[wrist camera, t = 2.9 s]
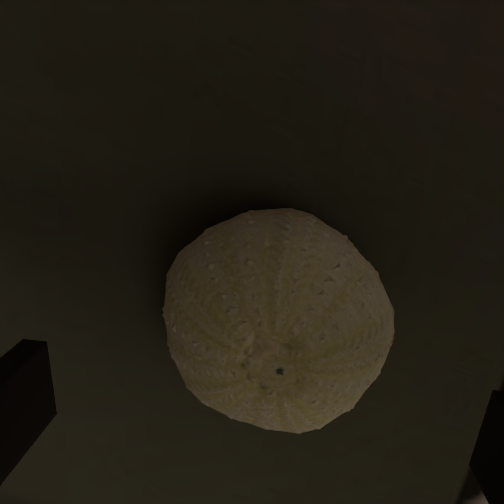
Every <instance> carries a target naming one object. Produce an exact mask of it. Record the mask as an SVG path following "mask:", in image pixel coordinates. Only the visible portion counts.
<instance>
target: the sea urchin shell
mask: <svg viewBox="0 0 504 504" xmlns="http://www.w3.org/2000/svg"><path fill="white" fill-rule="evenodd" d="M168 271H169V272H168V273H167V274H166V276H167V277H166V279H167V282H166V294H165V302H164V307H163V308H162V311H163V312H164V313H163V314H162V315H163V317H164V320H165V324H166V329H167V337H168V341H167V345H168V347H169V348H170V349H169V351H168V352H170V353H171V358H172V359H173V360H174V361H175V363H176V365H177V368H178V370H179V372H180V374H181V376H182V379H183V380H184V382H185V386H186V388H187V389H189V390H190V391H191V392H192V393H193V394H194V395H195V396H196V397H197V399H199V400H200V401H201V402H202V403H203V404H205V405H207V406H209V407H211V408H213V409H215V410H217V411H219V412H221V413H223V414H226V415H227V416H228V417H229V418H230V419H235V420H238V421H242V422H246V423H250V424H252V425H255V426H258V427H261V428H263V429H266V430H277V431H286V432H293V433H298V434H301V433H302V432H307V431H311V430H314V429H320V428H322V427H323V426H324V425H326V424H328V423H329V422H330V421H332V420H333V419H335V418H337V417H338V416H340V415H341V414H343V413H344V412H349V411H350V410H351V409H353V408H354V406H355V404H356V402H357V401H358V400H359V399H360V397H361V396H362V394H363V393H364V392H365V391H366V389H367V388H368V387H369V386H370V385H371V383H372V382H373V381H375V380H376V379H377V376H378V375H380V373H381V368H382V367H383V365H384V363H385V360H386V357H387V354H388V352H389V349H390V346H391V345H392V344H393V339H394V338H395V337H394V332H395V331H394V317H393V316H394V315H395V314H394V309H393V307H392V305H391V303H390V300H389V298H388V296H387V293H386V291H385V289H384V287H383V284H382V282H381V281H380V278H379V272H377V271H376V270H375V269H374V267H373V266H372V265H371V263H370V262H369V261H366V259H365V258H364V257H363V256H362V255H361V254H360V253H359V252H358V249H357V248H356V247H355V246H354V243H352V242H351V241H349V240H348V237H347V235H342V234H341V233H340V232H339V231H337V230H335V229H333V228H331V227H330V226H328V225H327V224H325V223H324V222H323V221H321V220H320V219H318V218H317V217H315V216H314V215H312V214H309V213H306V212H303V211H299V210H295V209H292V208H291V207H290V208H279V209H267V210H257V211H253V210H249V211H248V212H246V213H242V214H239V215H237V216H235V217H233V218H231V219H229V220H226V221H224V222H221V223H219V224H217V225H214V226H213V227H210V228H208V229H205V231H204V233H203V234H201V235H200V236H199V237H198V238H197V239H195V240H194V241H193V242H192V243H190V244H189V245H187V246H185V247H184V248H183V249H182V250H181V251H179V253H178V255H177V257H176V259H175V261H174V262H173V264H172V266H171V269H170V270H168Z"/></svg>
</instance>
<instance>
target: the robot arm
mask: <svg viewBox="0 0 504 504" xmlns="http://www.w3.org/2000/svg"><path fill="white" fill-rule="evenodd" d="M56 414H57V412H56V405H55V397H54V390H53V383H52V376H51V369H50V361H49V354H48V347H47V342H45V341H36V340H27V339H22V340H21V341H20V342H19V343H18V344H16V345H15V346H14V347H13V348H12V349H10V350H9V351H8V352H7V353H6V354H4V355H3V356H2V357H1V358H0V485H1V484H2V483H3V481H4V480H5V479H6V478H7V476H8V475H9V474H10V472H11V471H12V470H13V469H14V467H15V466H16V465H17V464H18V462H19V461H20V460H21V459H22V457H23V456H24V455H25V453H26V452H27V451H28V450H29V448H30V447H31V446H32V445H33V443H34V442H35V441H36V440H37V438H38V437H39V436H40V434H41V433H42V432H43V431H44V429H45V428H46V427H47V426H48V424H49V423H50V422H51V421H52V419H53V418H54V417H55V415H56ZM469 465H470V467H471V469H472V471H473V473H474V475H475V477H476V479H477V481H478V483H479V485H480V487H481V489H482V491H483V493H484V495H485V497H486V499H487V501H488V503H489V504H504V391H498V390H493V391H492V394H491V397H490V400H489V404H488V407H487V410H486V413H485V416H484V419H483V422H482V426H481V429H480V432H479V435H478V438H477V441H476V444H475V448H474V451H473V454H472V457H471V460H470V463H469Z"/></svg>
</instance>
